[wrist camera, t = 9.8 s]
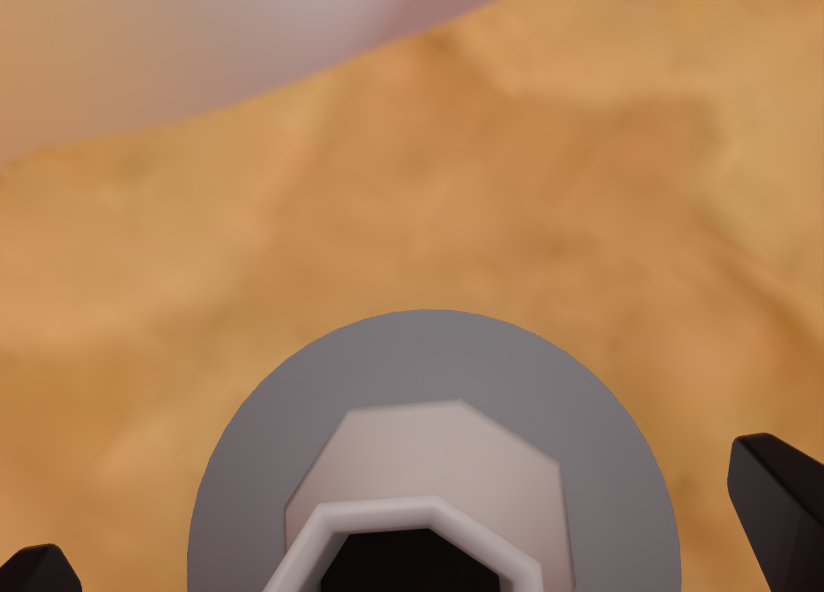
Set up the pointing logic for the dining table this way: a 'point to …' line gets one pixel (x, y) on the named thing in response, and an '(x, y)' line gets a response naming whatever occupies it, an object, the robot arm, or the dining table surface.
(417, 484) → the flask
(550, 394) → the slate coaster
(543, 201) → the dining table surface
